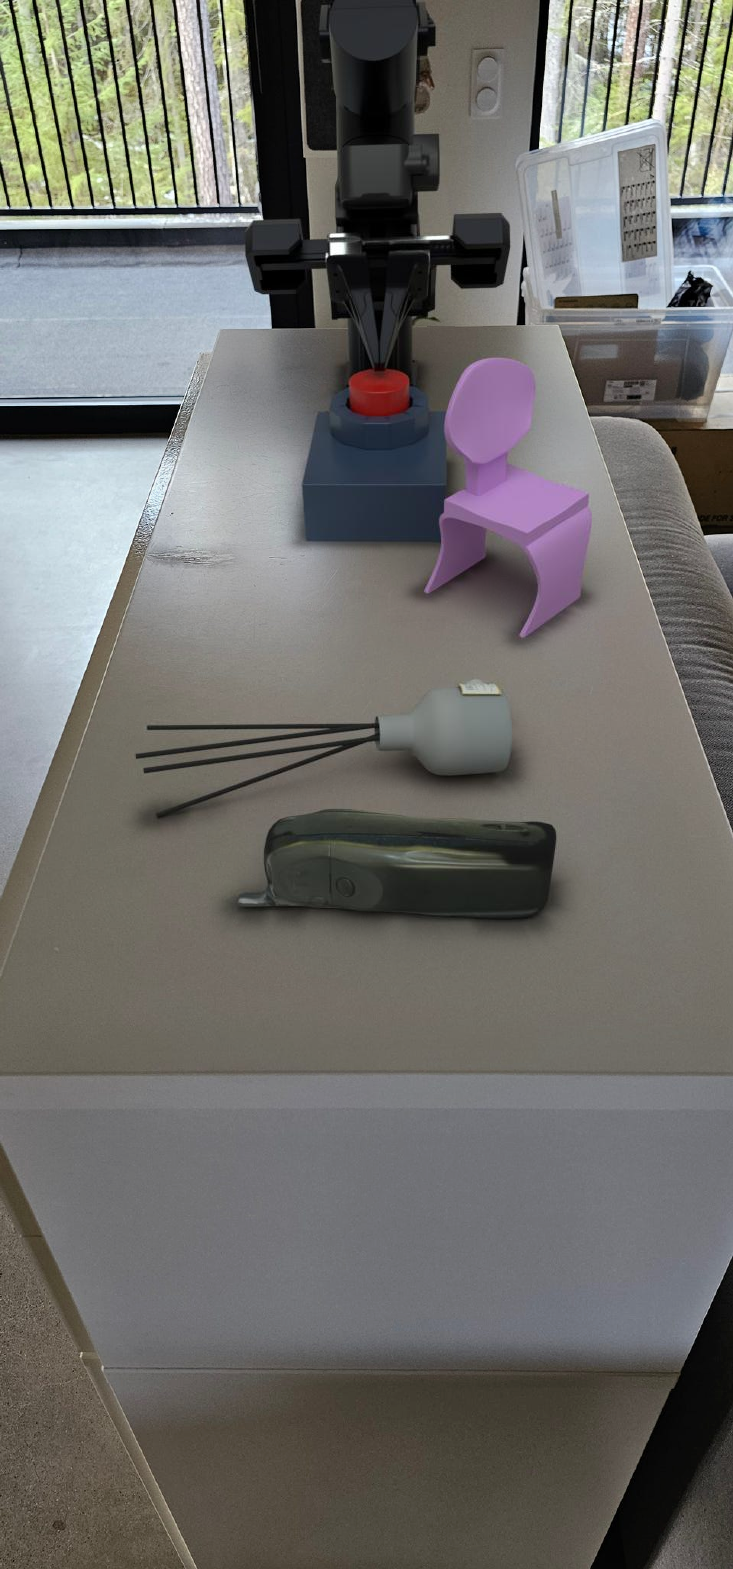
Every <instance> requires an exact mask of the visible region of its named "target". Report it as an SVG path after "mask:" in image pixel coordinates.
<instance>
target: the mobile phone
mask: <svg viewBox="0 0 733 1569" xmlns="http://www.w3.org/2000/svg"><path fill="white" fill-rule="evenodd" d="M556 846H557V830H556V828H555V827H554V826H553V824H550V823H547V822H542V821H536V820H535V821H534V820H533V821H503V820H502V821H501V820H478V819H471V818H454V817H452V818H450V817H449V818H448V817H420V816H419V817H417V816H407V815H400V814H395V813H394V814H393V813H384V812H375V811H368V810H363V809H351V808H327V809H325V808H324V809H321V810H318V811H315V812H310V813H306V814H299V815H289V816H286V817H283V818H280V819H278V820H277V821H275V822H274V823H273V824H272V825H271V826H270V828H269V829H268V832H267V835H266V837H265V842H264V847H263V868H264V869H263V870H264V873H265V877H266V881H267V886H266V889H264V890H263V891H261V892H242V893H240V894H238V897H237V901H238V906H239V907H309V908H314V909H315V908H318V909H343V910H348V911H349V910H350V911H356V912H357V911H359V912H380V913H381V912H382V913H383V912H385V913H386V912H387V913H388V912H389V913H409V914H420V915H429V916H443V917H461V918H462V917H463V918H479V919H480V918H481V919H501V920H502V919H504V920H512V919H520V918H521V919H522V918H528V917H532V916H533V915H536V914H537V913H539V912H541V911H542V910H543V909H544V908H545V906H546V905H547V904H548V901H549V895H550V888H551V882H552V876H553V875H552V874H553V868H554V862H555V854H556V848H557V847H556Z"/></svg>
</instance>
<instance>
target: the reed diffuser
mask: <svg viewBox="0 0 733 1569" xmlns="http://www.w3.org/2000/svg"><path fill="white" fill-rule="evenodd" d="M456 685H457V686H441V687H434V688H432V689H430V690H427V692H425V693H424V694H423V696H422V697H421V698H420V699H419V701H418V702H417V703H416V704H415V706H414V707H413V708H412V710H411V711H410V712H409V714H394V715H393V714H392V715H376V716H375V719H374V722H371V723H368V722H367V723H365V722H364V723H362V722H361V723H257V724H248V723H247V724H163V725H162V724H147V725H146V731H195V730H196V731H198V730H199V731H202V730H203V731H205V730H206V731H207V730H208V731H209V730H210V731H211V730H213V731H214V730H215V731H216V730H309V731H301V732H295V733H287V734H278V735H271V736H263V737H257V738H256V737H254V738H248V739H240V740H232V741H231V740H230V741H224V742H216V743H209V744H200V745H192V746H186V747H177V748H170V749H163V750H154V751H146V752H140V753H139V752H137V753H134V756H135V760H139V759H147V758H155V757H161V756H169V755H178V754H186V753H193V752H201V751H208V750H216V749H225V748H232V747H238V746H239V747H240V746H248V745H254V744H263V743H270V742H277V741H286V740H293V739H302V738H309V737H316V736H317V737H318V736H323V735H324V736H325V735H331V734H333V735H334V734H338V733H339V734H340V733H347V732H348V733H349V732H354V731H362V730H370V729H374V734H371V735H369V736H364V737H357V738H349V739H342V740H337V741H328V742H322V743H314V744H307V745H299V746H293V747H285V748H278V749H271V750H264V751H255V752H249V753H241V754H235V755H234V754H233V755H227V756H221V757H213V758H206V759H199V760H192V761H191V760H190V761H184V762H177V763H170V764H162V765H156V766H155V765H154V766H147V767H143V769H142V770H143V774H151V773H157V772H165V771H171V770H179V769H187V768H194V767H201V766H208V765H214V764H215V765H216V764H222V763H228V762H229V763H230V762H236V761H237V762H238V761H241V760H242V761H243V760H249V759H250V760H251V759H256V758H257V759H259V758H264V757H272V756H278V755H286V754H293V753H301V752H307V751H315V750H321V749H329V748H333V749H330V750H326V751H324V752H322V753H319V754H315V755H313V756H310V757H308V758H305V759H302V760H300V761H297V762H294V763H291V764H288V765H285V766H283V767H280V768H278V769H274V770H272V771H269V772H266V773H263V774H261V775H258V776H255V777H252V778H249V779H246V780H244V781H241V782H238V783H236V784H233V785H230V786H227V787H224V788H222V789H218V790H217V791H214V792H211V793H207V794H206V795H202V796H200V797H197V798H194V799H191V800H189V801H186V802H183V803H180V804H177V805H176V806H172V807H169V808H166V809H164V810H161V811H158V812H156V813H155V816H156V818H157V819H159V818H162V817H164V816H168V815H170V814H172V813H176V812H179V811H180V810H183V809H186V808H190V807H192V806H195V805H198V804H201V803H203V802H205V801H209V800H211V799H214V798H217V797H220V796H223V795H225V794H228V793H230V792H234V791H237V790H239V789H242V788H245V787H247V786H250V785H253V784H256V783H258V782H261V781H264V780H267V779H269V778H272V777H275V776H278V775H280V774H283V773H287V772H288V771H292V770H294V769H297V768H300V767H303V766H305V765H308V764H311V763H314V762H316V761H319V760H322V759H325V758H328V757H330V756H333V755H337V754H338V753H342V752H345V751H347V750H350V749H352V748H355V747H358V746H360V745H364V744H367V743H371V742H374V743H375V749H376V751H378V752H387V751H388V752H389V751H391V752H392V751H393V752H396V751H398V752H399V751H409V752H411V753H412V754H413V756H414V757H415V758H416V759H417V760H418V761H419V762H420V764H421V765H422V766H423V767H424V768H425V769H426V770H427V771H428V772H429V773H431V774H434V775H439V776H462V775H476V774H487V773H488V774H489V773H499V772H503V771H505V770H506V768H507V767H508V764H509V762H510V758H511V753H512V745H513V744H512V743H513V722H512V713H511V712H512V711H511V706H510V702H509V698H508V696H507V694H506V692H505V690H504V688H502V687H500V686H498V685H497V684H495V683H485V682H484V681H483V680H482V679H480V678H474V679H470V680H469V681H467V682H466V683H456ZM318 729H319V730H318Z"/></svg>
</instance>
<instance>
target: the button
mask: <svg viewBox="0 0 733 1569" xmlns="http://www.w3.org/2000/svg"><path fill="white" fill-rule="evenodd" d="M349 396H350V409H351V411H352V412H353V413H356V414H360V415H364V416H368V417H387V416H391V415H395V414H399V413H403V412H405V411H406V410H408V409H409V378H408V376H407V375H406V374H404V373H402V372H400V371H397V370H392V369H386V370H385V371H374V369H370V370H365V371H361V372H358V373H356V374H354V375H353V376H352V377H351V378H350V380H349Z"/></svg>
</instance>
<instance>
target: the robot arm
mask: <svg viewBox="0 0 733 1569" xmlns="http://www.w3.org/2000/svg"><path fill="white" fill-rule="evenodd" d="M428 11H429V10H428V9H427V4H426V1H417V0H329V4H321V5H320V16H319V26H318V34H319V35H318V41H319V50H320V51H319V52H320V60H321V61H322V63H323V64H328V63H329V65H328V66H329V75H330V77H329V78H330V87H331V89H330V90H334V95H335V97H336V99H335V100H336V101H335V102H336V104H335V106H336V109H335V110H336V169H337V170H336V171H337V172H336V174H337V177H336V178H337V179H336V182H335V184H334V218H335V219H334V220H335V232H334V233H333V232H331V233H328V234H326V238H312V239H304V236H303V229H302V222H301V218H285V219H284V218H283V219H282V218H281V219H279V218H278V219H254V220H252V221H251V222H250V224H249V225H248V226H247V228H246V230H245V232H244V256H245V260H246V263H247V268H248V271H249V274H250V279H251V283H252V286H253V290H254V291H253V292H256V293H258V294H260V295H292V294H293V295H296V294H298V293H299V292H300V291H301V289H303V287H304V286H306V284H307V270H326V277H327V284H328V294H329V300H330V313H331V321H337V320H338V319H339V320H340V319H341V320H342V319H347V337H348V360H347V363H346V368H345V374H344V379H343V385H342V390H344V389H345V388H348V387H349V380H350V378H351V377H352V376H353V375H354V374H356V373H358V372H361V371H365V370H370V369H374V371H385V370H386V369H392V370H397V371H400V372H402V373H404V374H406V375H407V376H408V378H409V386H412V387H416V388H417V380H418V367H419V366H418V364H419V363H418V360H417V359H414V358H413V317H421V318H429V313H431V312H433V311H434V310H436V285H437V267H438V266H450V280H451V281H452V282H453V283H454V284H455V285H457V286H458V287H459V289H461V290H468V289H471V290H472V289H496V288H498V287H500V286H502V285H504V282H505V277H506V272H507V268H508V262H509V256H510V252H511V224H510V222H509V220H508V219H507V218H506V216H504V215H503V213H502V212H481V213H479V212H478V213H454V214H453V219H452V229H451V234H446V235H445V234H444V235H443V234H442V235H421V225H420V214H419V193H422V192H424V193H425V192H438V190H439V188H440V183H441V182H440V181H441V179H440V178H441V166H440V165H441V164H440V163H441V162H440V161H441V159H440V158H441V157H440V155H441V154H440V153H441V152H440V133H417V134H416V132H415V130H416V128H415V126H416V125H415V123H416V122H415V91H416V87H420V78H421V74H420V73H421V60H426V59H427V57H428V52H429V48H430V47H436V46H437V44H436V43H437V41H436V40H437V39H436V37H437V34H436V32H437V26H436V23H435V21H434V19H433V18H432V17H431V16H430V12H428Z"/></svg>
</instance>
